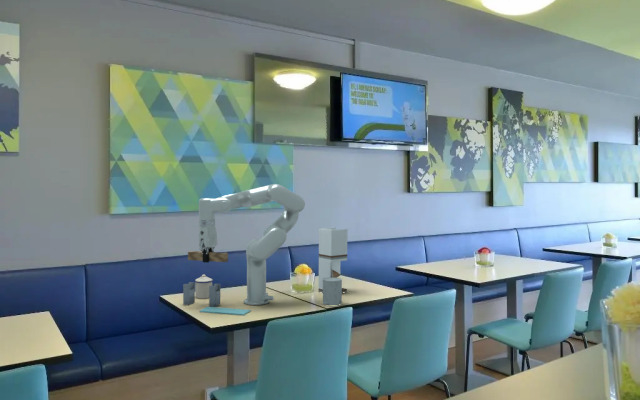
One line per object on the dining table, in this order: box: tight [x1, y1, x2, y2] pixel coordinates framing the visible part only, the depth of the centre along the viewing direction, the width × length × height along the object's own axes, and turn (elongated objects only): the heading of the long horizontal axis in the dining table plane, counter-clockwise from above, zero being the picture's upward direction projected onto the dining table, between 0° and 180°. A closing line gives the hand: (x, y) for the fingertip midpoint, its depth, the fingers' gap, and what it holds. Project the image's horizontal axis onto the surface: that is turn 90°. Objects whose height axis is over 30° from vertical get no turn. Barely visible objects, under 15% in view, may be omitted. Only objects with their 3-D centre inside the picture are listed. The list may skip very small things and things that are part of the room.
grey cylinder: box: [322, 277, 343, 306], centre depth 250 cm, size 10×10×12 cm
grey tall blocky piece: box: [318, 227, 348, 294], centre depth 276 cm, size 11×11×35 cm
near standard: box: [208, 283, 221, 307], centre depth 245 cm, size 3×6×10 cm, turn 165°
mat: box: [198, 306, 252, 316], centre depth 234 cm, size 22×8×1 cm, turn 75°
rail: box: [187, 250, 229, 263], centre depth 243 cm, size 20×3×4 cm, turn 72°
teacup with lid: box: [194, 274, 214, 300], centre depth 265 cm, size 12×9×12 cm
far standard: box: [182, 281, 196, 306], centre depth 249 cm, size 3×6×10 cm, turn 165°
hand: (208, 261), depth 244 cm, fingers closed on rail, 3 cm apart
